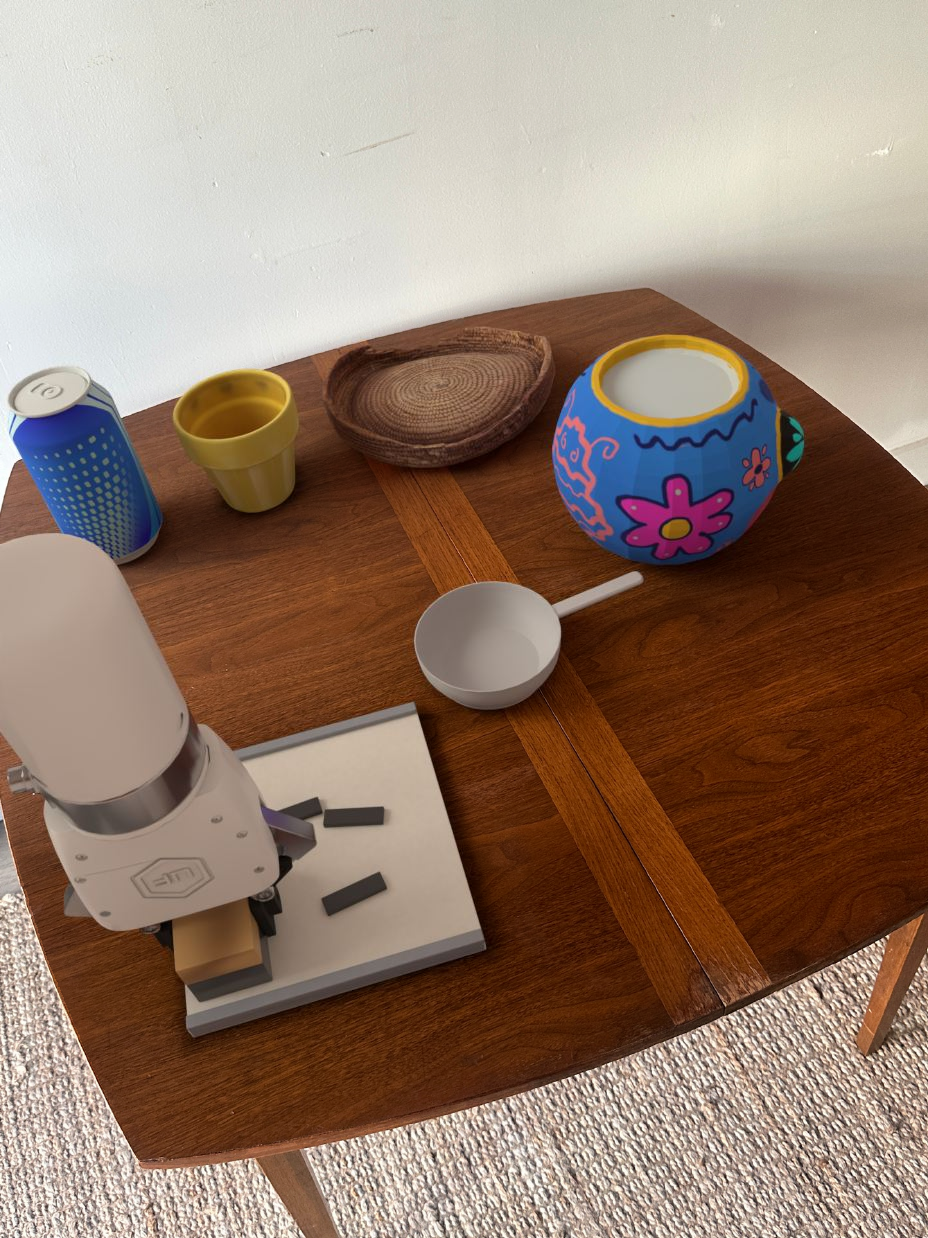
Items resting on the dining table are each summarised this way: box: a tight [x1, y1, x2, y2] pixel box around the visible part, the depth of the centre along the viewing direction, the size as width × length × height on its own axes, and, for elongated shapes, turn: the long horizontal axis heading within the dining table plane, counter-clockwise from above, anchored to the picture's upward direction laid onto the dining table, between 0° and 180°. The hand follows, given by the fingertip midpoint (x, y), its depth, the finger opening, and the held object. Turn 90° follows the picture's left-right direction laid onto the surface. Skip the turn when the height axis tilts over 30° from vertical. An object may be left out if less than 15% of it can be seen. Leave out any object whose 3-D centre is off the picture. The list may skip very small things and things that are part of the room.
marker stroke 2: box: [323, 806, 384, 828], centre depth 68 cm, size 4×1×1 cm, turn 90°
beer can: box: [6, 365, 163, 566], centre depth 85 cm, size 8×8×16 cm
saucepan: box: [413, 570, 644, 711], centre depth 76 cm, size 11×18×4 cm, turn 112°
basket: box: [321, 326, 556, 469], centre depth 97 cm, size 22×20×5 cm
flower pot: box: [172, 368, 300, 514], centre depth 90 cm, size 10×10×10 cm
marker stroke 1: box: [278, 797, 323, 820], centre depth 68 cm, size 4×1×1 cm, turn 110°
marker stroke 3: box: [321, 871, 387, 916], centre depth 64 cm, size 4×1×1 cm, turn 115°
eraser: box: [172, 897, 273, 1002], centre depth 62 cm, size 4×8×4 cm, turn 15°
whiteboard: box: [184, 701, 487, 1038], centre depth 67 cm, size 18×19×1 cm
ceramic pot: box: [551, 334, 806, 566], centre depth 80 cm, size 18×18×15 cm
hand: (226, 926), depth 63 cm, fingers closed on eraser, 4 cm apart
